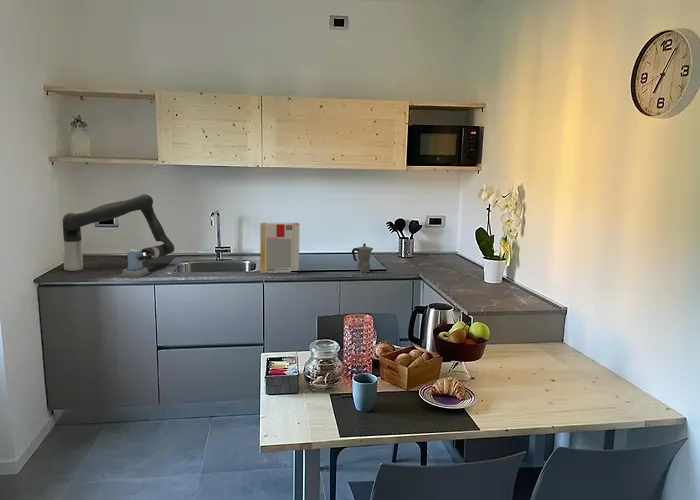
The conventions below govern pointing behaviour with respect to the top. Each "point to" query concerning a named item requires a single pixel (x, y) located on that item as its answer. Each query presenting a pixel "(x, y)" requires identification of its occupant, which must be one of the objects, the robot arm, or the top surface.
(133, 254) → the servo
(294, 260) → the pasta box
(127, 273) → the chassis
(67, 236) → the robot arm
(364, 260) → the coffeepot
